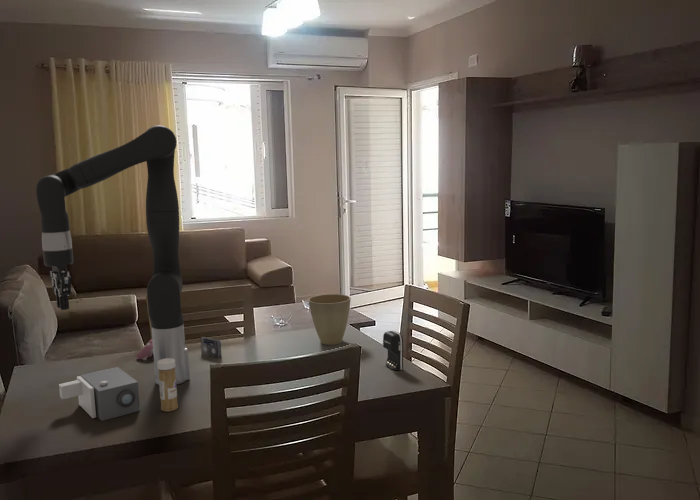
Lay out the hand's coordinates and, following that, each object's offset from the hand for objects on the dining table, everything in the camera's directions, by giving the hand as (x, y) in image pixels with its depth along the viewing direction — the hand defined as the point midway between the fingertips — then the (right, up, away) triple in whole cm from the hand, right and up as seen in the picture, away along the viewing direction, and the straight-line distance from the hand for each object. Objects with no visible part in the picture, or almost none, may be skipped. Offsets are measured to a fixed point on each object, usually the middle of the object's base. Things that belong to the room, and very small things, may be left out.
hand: (63, 308), depth 178 cm
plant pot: (+74, -17, +47) cm, 89 cm away
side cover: (+9, -27, -11) cm, 30 cm away
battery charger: (+94, -21, +19) cm, 98 cm away
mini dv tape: (+34, -20, +35) cm, 53 cm away
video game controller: (+13, -20, +37) cm, 44 cm away
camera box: (+16, -26, -7) cm, 31 cm away
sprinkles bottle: (+33, -26, -9) cm, 43 cm away
